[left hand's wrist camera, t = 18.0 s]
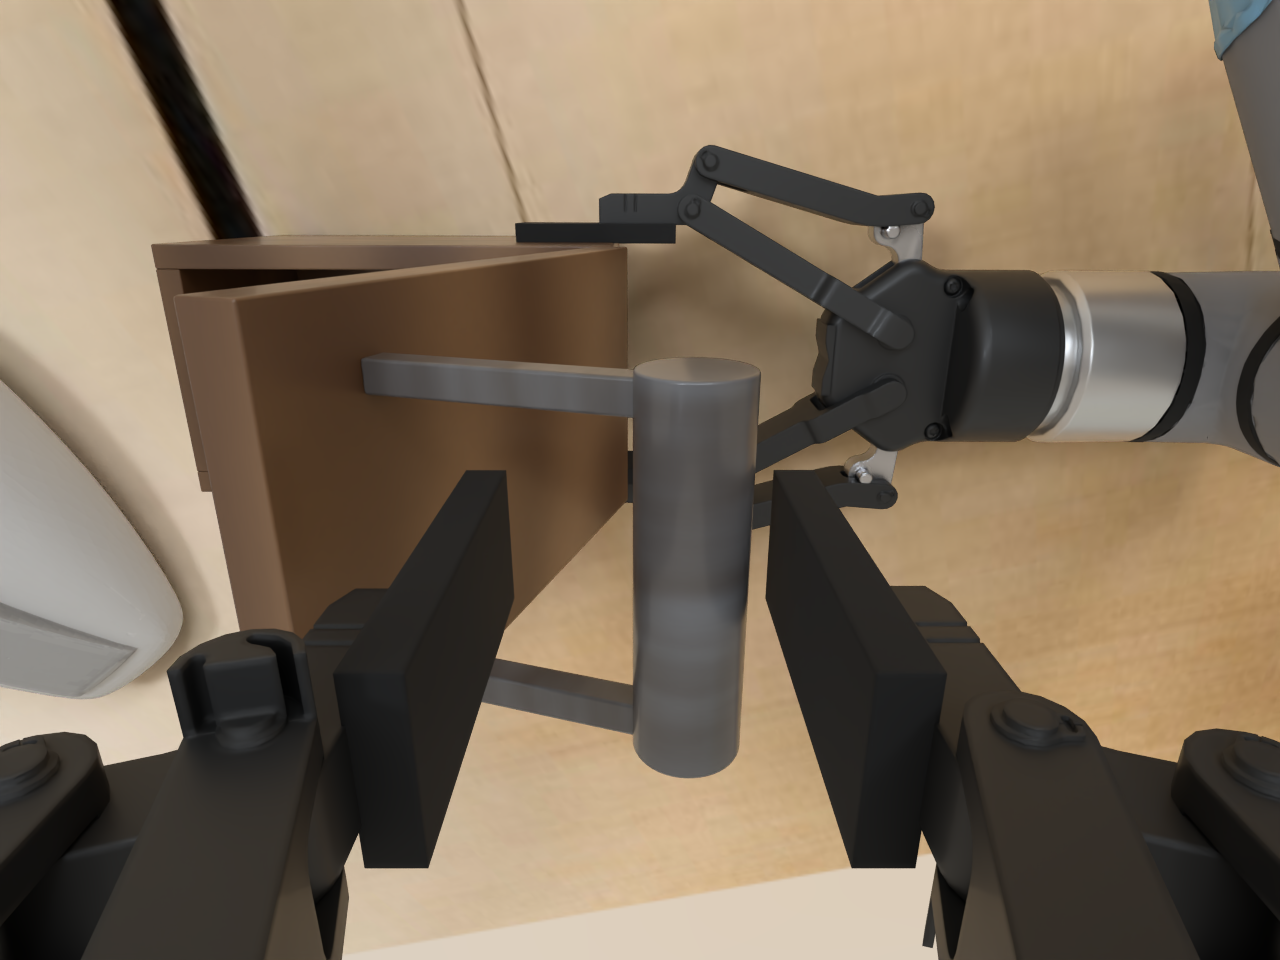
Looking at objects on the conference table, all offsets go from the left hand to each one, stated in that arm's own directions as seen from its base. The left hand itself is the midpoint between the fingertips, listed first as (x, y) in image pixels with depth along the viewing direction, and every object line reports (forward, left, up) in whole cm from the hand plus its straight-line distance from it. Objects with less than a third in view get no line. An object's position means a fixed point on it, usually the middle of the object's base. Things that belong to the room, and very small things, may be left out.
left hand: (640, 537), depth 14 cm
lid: (-4, -2, -7) cm, 8 cm away
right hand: (-5, -2, -20) cm, 21 cm away
